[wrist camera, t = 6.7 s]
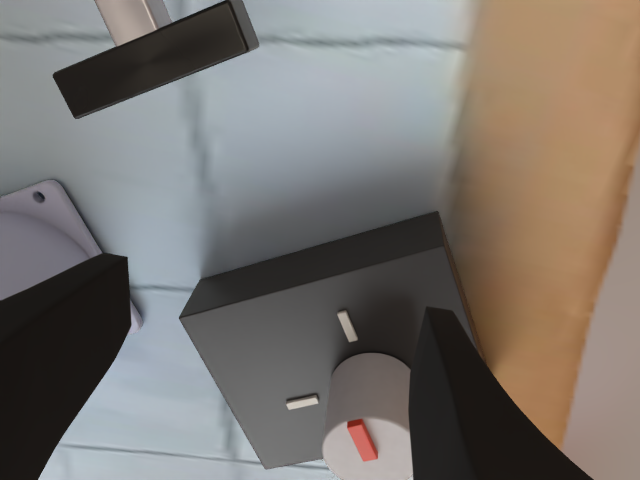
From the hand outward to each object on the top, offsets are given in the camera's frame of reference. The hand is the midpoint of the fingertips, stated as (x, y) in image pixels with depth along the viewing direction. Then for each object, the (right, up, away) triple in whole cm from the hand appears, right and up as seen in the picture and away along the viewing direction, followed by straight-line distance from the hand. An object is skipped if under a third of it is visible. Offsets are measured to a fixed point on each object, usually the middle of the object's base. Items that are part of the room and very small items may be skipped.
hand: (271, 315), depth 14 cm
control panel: (+2, -2, +13) cm, 13 cm away
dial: (+3, -4, +10) cm, 12 cm away
